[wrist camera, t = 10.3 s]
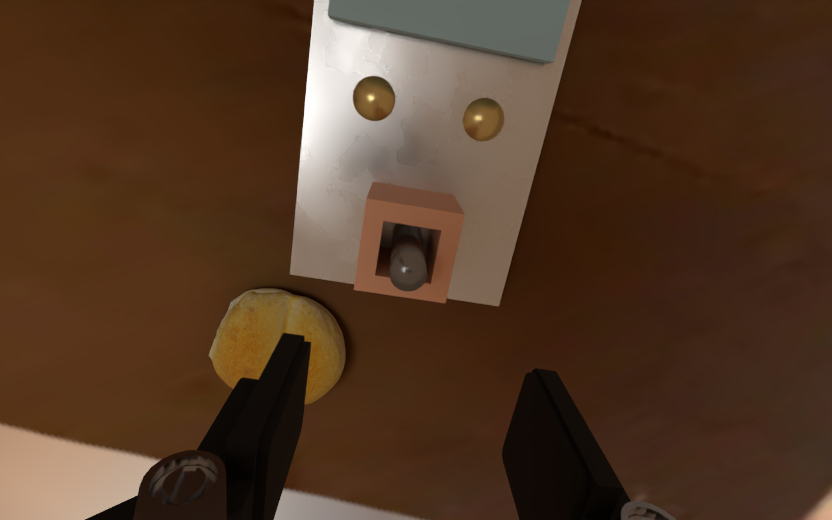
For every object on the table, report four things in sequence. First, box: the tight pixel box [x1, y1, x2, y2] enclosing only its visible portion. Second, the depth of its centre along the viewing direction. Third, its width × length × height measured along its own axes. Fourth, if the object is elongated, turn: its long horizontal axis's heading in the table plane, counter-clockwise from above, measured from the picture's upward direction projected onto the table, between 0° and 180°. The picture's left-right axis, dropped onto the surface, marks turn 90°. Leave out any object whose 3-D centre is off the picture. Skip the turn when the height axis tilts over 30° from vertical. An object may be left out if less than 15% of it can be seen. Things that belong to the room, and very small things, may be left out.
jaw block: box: [354, 182, 465, 303], centre depth 25 cm, size 5×5×5 cm
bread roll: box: [209, 288, 346, 405], centre depth 29 cm, size 8×9×4 cm
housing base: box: [290, 0, 582, 306], centre depth 22 cm, size 22×14×8 cm, turn 170°
